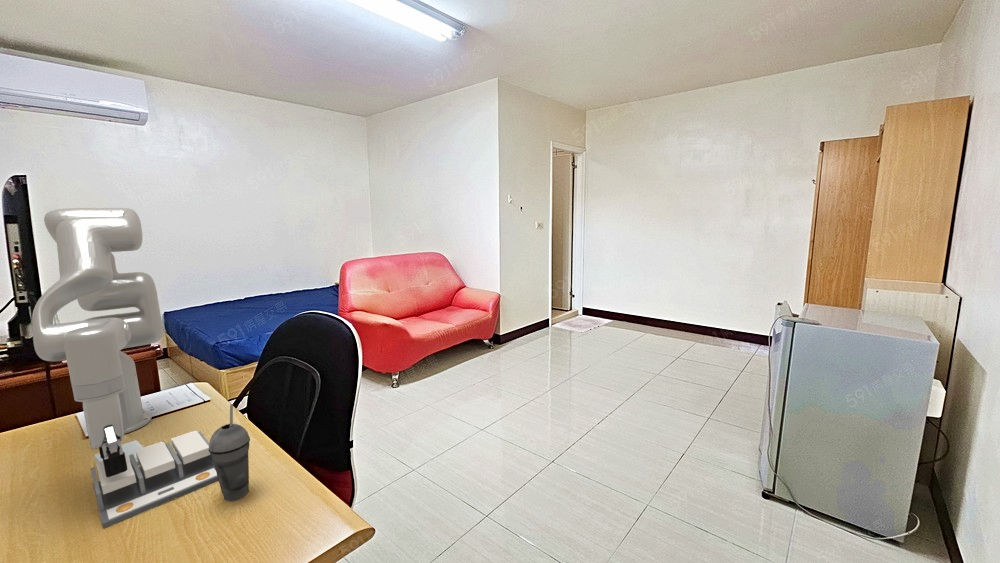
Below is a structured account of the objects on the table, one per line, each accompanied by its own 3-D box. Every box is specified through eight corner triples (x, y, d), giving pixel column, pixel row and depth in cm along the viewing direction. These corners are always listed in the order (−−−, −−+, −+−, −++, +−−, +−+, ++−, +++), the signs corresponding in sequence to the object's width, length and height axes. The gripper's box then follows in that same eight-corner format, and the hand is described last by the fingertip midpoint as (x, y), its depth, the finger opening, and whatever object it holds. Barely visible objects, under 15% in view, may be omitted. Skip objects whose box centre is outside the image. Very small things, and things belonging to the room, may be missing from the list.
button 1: (97, 474, 90) (95, 463, 90) (128, 463, 94) (126, 453, 93) (104, 498, 83) (101, 486, 82) (137, 485, 86) (134, 474, 86)
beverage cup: (219, 488, 90) (207, 401, 87) (258, 479, 93) (248, 395, 89) (212, 510, 83) (198, 417, 80) (253, 499, 86) (242, 409, 83)
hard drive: (93, 454, 101) (107, 472, 94) (136, 439, 108) (153, 455, 101) (95, 460, 102) (109, 479, 94) (137, 445, 108) (154, 461, 101)
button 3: (172, 448, 100) (171, 438, 99) (197, 439, 103) (196, 430, 103) (184, 467, 92) (182, 457, 92) (210, 457, 96) (209, 447, 95)
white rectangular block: (137, 460, 95) (135, 450, 94) (164, 451, 98) (163, 441, 98) (146, 482, 87) (144, 470, 87) (175, 471, 91) (174, 460, 90)
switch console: (93, 487, 91) (89, 467, 90) (202, 448, 105) (200, 430, 105) (103, 528, 79) (98, 506, 78) (224, 477, 93) (222, 458, 93)
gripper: (70, 381, 87) (85, 456, 90) (76, 406, 76) (93, 491, 79) (118, 371, 93) (131, 442, 96) (130, 392, 81) (144, 472, 84)
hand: (113, 464), depth 87 cm, fingers open, 9 cm apart
